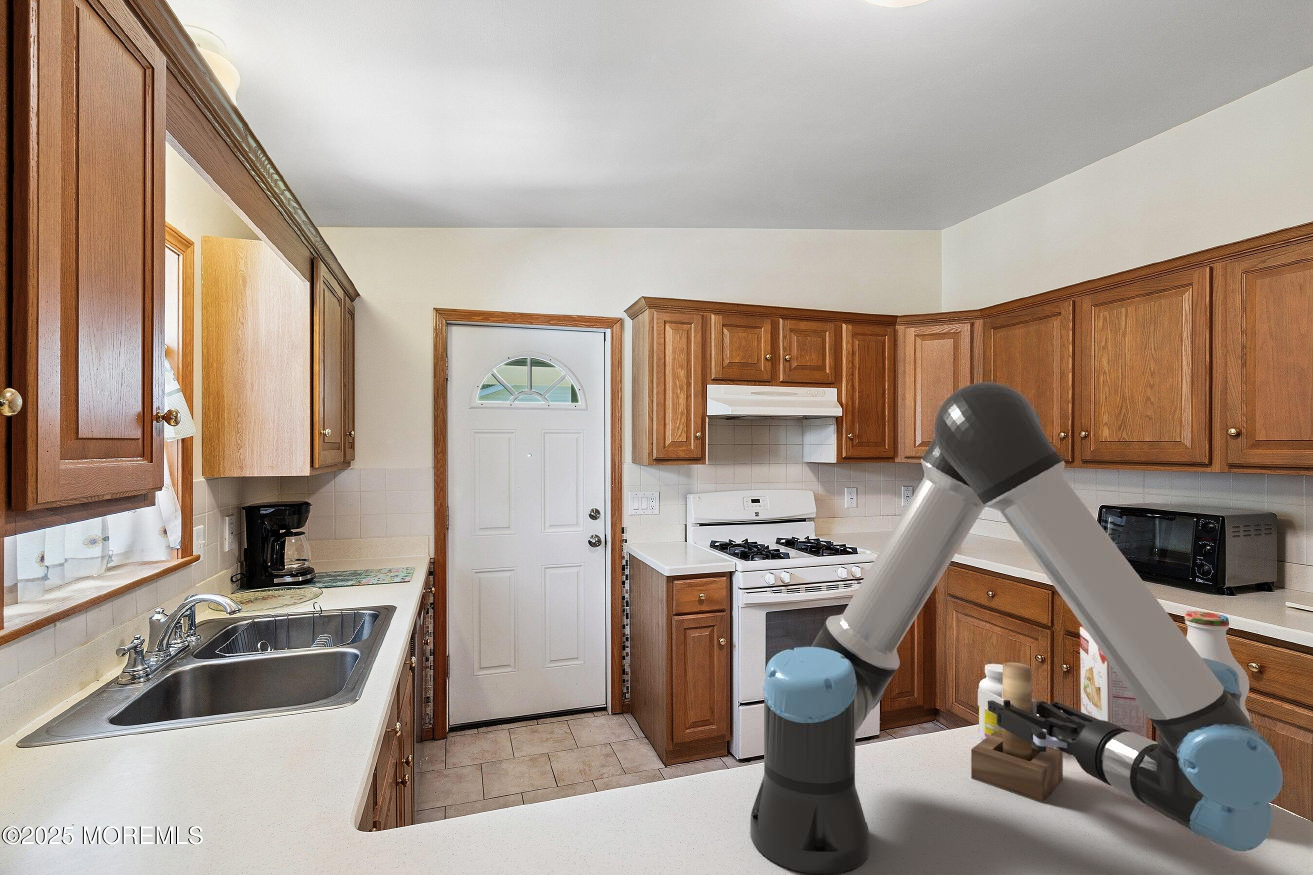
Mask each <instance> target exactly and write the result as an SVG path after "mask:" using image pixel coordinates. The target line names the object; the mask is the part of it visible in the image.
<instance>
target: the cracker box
mask: <svg viewBox="0 0 1313 875" xmlns="http://www.w3.org/2000/svg"><path fill="white" fill-rule="evenodd" d="M1079 647H1080V648H1079V649H1080V650H1079V653H1080V655H1079V657H1080V712H1082V713H1085V714H1087V715H1089V716H1092V717H1094V718H1097V719H1099V720H1104V721H1108V722H1110V723H1113V724H1115V725H1117V726H1119V727H1121V728H1124V729H1126V730H1128V731H1130V732H1134V733H1136V734H1139V735H1141V736H1143V737H1145V738H1148V739H1150V737H1149V736H1150V735H1149V734H1150V733H1149V732H1150V730H1149V729H1150V728H1149V727H1150V726H1149V725H1150V724H1149V720H1150V718H1149V717H1148V715H1147V714H1146V713H1145V711H1144V710H1143V709H1142V707H1141V706H1140V704H1139V703H1138V702H1137V700H1136V699H1135V697H1134V696H1133V695H1132V693H1131V692H1130V691H1129V689H1128V688H1127V686H1126V685H1125V684H1124V682H1123V681H1122V679H1121V678H1120V677H1119V675H1118V674H1117V673H1116V671H1115V670H1114V668H1113V667H1112V666H1111V664H1110V663H1109V661H1108V660H1107V659H1106V657H1105V656H1104V655H1103V653H1102V652H1101V650H1100V649H1099V648H1098V646H1097V645H1096V643H1095V642H1094V641H1093V639H1092V638H1091V637H1090V635H1089V634H1088V632H1087V631H1086V630H1085V628H1084V627H1083V626H1080V627H1079Z"/></svg>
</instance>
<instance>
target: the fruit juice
mask: <svg viewBox="0 0 1313 875" xmlns="http://www.w3.org/2000/svg"><path fill="white" fill-rule="evenodd" d="M1184 623H1185V625H1187V632H1186V633H1187V634H1186V636H1185V637H1186V638H1187V640H1188V641H1189V642H1190V644H1191V645H1192V646H1193V647H1194V649H1195V650H1196V651H1197V653H1198V654H1199V655H1200V657H1201V658H1206V659H1210V660H1214V661H1218V662H1221V663H1224V664H1226V665H1228V666H1230V667H1232V668H1233V669H1234V670H1235V671H1236V672H1237V673H1238V676H1239V686H1240V691H1241V692H1242V696H1241V697H1240V707H1241V710H1242V711H1243V712H1244V714H1245V715H1246V717H1247V718H1248V719H1249V721H1250V722H1251V716H1250V713H1249V711H1248V709H1247V707H1246V700H1247V697H1248V694H1249V692H1250V679H1249V676H1248V674H1247V672H1246V671H1245V669H1244V668H1243V666H1242V665H1240V663H1239V662H1238V661H1237V660H1236V658H1235V657H1234V655H1233V653H1232V651H1231V648H1230V646H1229V643H1228V638H1227V630H1229V626H1230V620H1229V618H1228V617H1227V616H1226V615H1223V614H1219V613H1215V612H1209V611H1198V610H1189V611H1186V612H1185V614H1184Z"/></svg>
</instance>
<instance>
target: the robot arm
mask: <svg viewBox="0 0 1313 875" xmlns="http://www.w3.org/2000/svg"><path fill="white" fill-rule="evenodd" d="M933 429H934V430H933V432H934V437H933V438H932V440H931V442H930V444H929V446H928V447H927V449H926V451H925V453H924V454H923V455H922V458H921V459H920V462H921V465H922V468H923V469H922V470H923V474H924V475H923V478H922V480H921V482H920V483H919V485H918V487H917V488H916V490H915V492H914V493H913V495H912V497H911V498H910V500H909V502H908V503H907V505H906V507H905V508H904V510H903V512H902V514H901V516H899V519H898V521H897V522H896V524H895V525H894V527H893V529H892V531H891V532H890V534H889V535H888V537H887V539H886V541H885V543H884V544H883V546H882V547H881V549H880V551H879V552H878V554H877V555H876V557H875V559H874V561H873V563H872V564H871V566H870V568H869V570H868V571H867V572H866V575H865V576H864V578H863V579H862V581H861V583H860V585H858V588H857V589H856V592H855V593H854V594H853V596H852V598H851V600H850V601H849V603H848V605H847V606H846V608H845V609H844V612H842V613H841V614H837V615H831V616H828V618H827V619H826V621H825V622H824V624H823V626H822V628H820V630H819V633H818V634H817V635H816V637H815V639H814V641H813V642H812V644H811V646H799V647H794V649H785V650H782V651H780V652H778V653H776V654H775V655H773V656H772V658H770V659H769V661H768V662H767V664H766V669H765V672H764V675H765V676H764V680H763V687H762V691H763V700H764V701H763V704H764V705H763V711H764V712H763V716H764V718H763V723H764V724H763V729H764V730H763V735H764V736H763V740H764V741H763V742H764V743H763V757H764V758H763V759H764V760H763V761H764V763H763V769H764V771H763V777H762V780H761V782H760V785H759V789H758V792H757V795H756V796H755V800H754V804H753V807H752V809H751V813H750V818H749V819H750V820H749V821H750V822H749V823H750V825H749V826H750V827H749V828H750V829H749V830H750V832H749V834H750V839H751V841H752V843H753V845H754V846H755V848H756V849H757V850H758V851H759V852H760V853H761V854H762V855H763V856H765V858H767V859H768V860H770V861H771V862H773V863H776V864H777V865H779V866H782V867H783V868H786V869H790V870H793V871H795V872H796V871H797V872H800V873H807V874H810V875H811V874H813V875H834V874H835V875H836V874H842V873H847V872H848V871H851V870H854V869H856V868H858V867H859V866H860V865H862V864H863V863H864V862H865V861H866V859H868V856H869V853H870V831H869V830H870V829H869V826H868V822H867V821H866V817H865V813H864V810H863V806H862V803H861V801H860V797H859V793H858V791H857V788H856V734H857V731H858V730H859V728H860V727H861V726H862V725H863V723H864V721H866V719H867V717H868V715H869V714H870V713H871V712H872V711H873V710H874V709H875V708H876V707H877V706H878V704H879V703H880V701H881V700H882V698H883V697H884V694H885V693H884V692H885V689H886V688H887V687H888V685H889V683H890V682H891V680H892V678H893V677H894V675H895V673H896V672H897V670H898V668H900V663H901V662H900V661H901V660H900V657H899V654H898V652H897V649H898V647H899V645H900V644H901V643H902V642H901V641H903V639H904V637H905V635H906V634H907V632H908V630H909V629H910V628H911V626H912V625H913V623H914V622H915V619H916V618H917V616H918V615H919V613H920V612H921V610H922V608H923V607H924V606H925V604H926V602H927V601H928V599H929V597H930V596H931V594H932V592H933V591H934V589H935V587H936V586H937V584H938V583H939V581H940V579H941V578H942V577H943V574H944V573H945V571H946V570H947V568H948V566H949V565H950V563H951V562H952V560H953V559H954V558H955V555H956V554H957V553H958V551H959V549H960V547H961V546H962V544H963V543H964V541H965V539H966V538H967V536H968V535H969V533H970V531H971V530H972V528H973V527H974V525H975V524H976V522H977V520H978V518H979V517H980V516H981V514H982V512H983V510H984V509H985V508H988V509H993V510H996V511H998V512H1000V513H1001V515H1002V517H1003V518H1004V519H1005V521H1006V522H1007V523H1008V524H1009V526H1010V528H1012V530H1013V532H1014V533H1015V535H1017V537H1018V538H1019V540H1020V541H1021V543H1023V545H1024V547H1025V548H1026V549H1027V551H1028V552H1029V553H1030V555H1031V556H1032V558H1033V559H1034V561H1035V562H1036V563H1037V564H1038V566H1039V567H1040V569H1041V570H1042V571H1043V573H1044V574H1045V575H1046V577H1047V579H1048V580H1049V581H1050V583H1051V584H1052V585H1053V587H1054V588H1055V590H1056V591H1057V592H1058V594H1059V595H1060V596H1061V598H1062V599H1063V601H1064V602H1065V604H1066V605H1067V606H1068V608H1069V609H1070V610H1071V612H1072V613H1073V614H1074V616H1075V617H1076V619H1077V620H1078V621H1079V623H1080V624H1081V626H1082V627H1084V628H1085V630H1086V631H1087V632H1088V634H1089V635H1090V637H1091V638H1092V639H1093V641H1094V642H1095V643H1096V645H1097V646H1098V648H1099V649H1100V650H1101V652H1102V653H1103V655H1104V656H1105V657H1106V659H1107V660H1108V661H1109V663H1110V664H1111V666H1112V667H1113V668H1114V670H1115V671H1116V673H1117V674H1118V675H1119V677H1120V678H1121V679H1122V681H1123V682H1124V684H1125V685H1126V686H1127V688H1128V689H1129V691H1130V692H1131V693H1132V695H1133V696H1134V697H1135V699H1136V700H1137V702H1138V703H1139V704H1140V706H1141V707H1142V709H1143V710H1144V711H1145V713H1146V714H1147V715H1148V717H1149V720H1150V722H1151V723H1152V725H1153V726H1154V728H1155V730H1156V731H1157V732H1158V741H1154V740H1152V739H1150V738H1149V739H1148V738H1145V737H1143V736H1141V735H1139V734H1136V733H1134V732H1130V731H1128V730H1126V729H1124V728H1121V727H1119V726H1117V725H1115V724H1113V723H1110V722H1108V721H1104V720H1099V719H1097V718H1094V717H1092V716H1089V715H1087V714H1085V713H1082V712H1081V710H1077V709H1075V708H1072V707H1071V706H1069V705H1065V704H1063V703H1061V702H1058V701H1052V702H1051V704H1050V703H1049V702H1047V701H1044V700H1040V701H1038V700H1037V699H1035V698H1033V697H1032V714H1031V713H1029V712H1026V711H1023V710H1021V709H1018V708H1016V707H1013V706H1012V703H1011V702H1010V700H1005V699H1003V686H1002V698H1001V697H999V696H997V695H995V694H992V693H990V692H988V691H986V690H984V689H982V688H980V689H979V688H978V689H977V706H978V707H979V706H980V707H982V708H984V709H986V710H988V711H990V712H992V713H994V714H995V715H997V725H998V726H1000V727H1002V728H1004V729H1005V730H1007V731H1009V732H1011V733H1012V734H1014V735H1016V736H1018V737H1019V738H1021V739H1023V740H1025V741H1026V742H1028V743H1030V744H1031V745H1032V746H1033V747H1034V748H1035V749H1036V750H1038V751H1040V752H1046V748H1047V747H1051V748H1056V749H1058V750H1060V751H1062V752H1063V753H1065V754H1068V755H1070V756H1073V757H1074V759H1075V761H1077V764H1078V765H1079V766H1080V768H1081V769H1082V770H1083V771H1084V772H1085V773H1086V774H1088V775H1090V776H1091V777H1093V778H1095V779H1097V780H1099V781H1100V782H1102V783H1104V784H1106V785H1108V786H1110V787H1113V788H1115V789H1116V790H1118V791H1120V792H1122V793H1123V794H1126V795H1128V796H1129V797H1131V798H1133V799H1135V800H1136V801H1138V803H1139V804H1141V805H1143V806H1147V807H1149V808H1151V809H1153V810H1154V811H1156V812H1158V813H1160V814H1162V815H1164V816H1165V817H1167V818H1169V819H1171V820H1172V821H1175V822H1177V823H1178V824H1180V825H1181V826H1183V827H1186V828H1188V829H1189V830H1191V831H1192V832H1193V833H1195V835H1197V836H1200V837H1202V838H1205V839H1207V840H1210V841H1212V842H1214V843H1215V844H1217V845H1220V846H1223V847H1226V848H1227V849H1229V850H1232V851H1235V852H1247V851H1251V850H1254V849H1257V848H1258V847H1259V846H1261V845H1262V844H1263V842H1264V841H1265V840H1266V839H1267V837H1268V835H1269V833H1270V831H1271V828H1272V824H1273V809H1272V806H1271V805H1270V803H1271V802H1272V801H1273V800H1275V799H1276V798H1277V796H1278V795H1279V794H1280V792H1281V790H1282V787H1283V781H1284V780H1283V779H1284V777H1283V771H1282V770H1283V769H1282V767H1281V764H1280V762H1279V760H1278V758H1277V757H1278V755H1277V754H1276V752H1275V751H1274V749H1273V748H1272V746H1271V745H1270V743H1268V741H1267V740H1266V739H1265V738H1264V737H1263V736H1262V735H1261V734H1260V732H1259V731H1258V730H1257V729H1256V727H1255V726H1254V724H1253V723H1252V722H1251V720H1250V721H1249V719H1248V718H1247V717H1246V715H1245V714H1244V712H1243V711H1242V710H1241V707H1240V697H1241V696H1242V692H1241V691H1240V686H1239V676H1238V673H1237V672H1236V671H1235V670H1234V669H1233V668H1232V667H1230V666H1228V665H1226V664H1224V663H1221V662H1218V661H1214V660H1210V659H1206V658H1201V657H1200V655H1199V654H1198V653H1197V651H1196V650H1195V649H1194V647H1193V646H1192V645H1191V644H1190V642H1189V641H1188V640H1187V638H1186V636H1185V634H1184V632H1182V630H1181V629H1180V628H1179V627H1178V625H1177V624H1176V622H1175V621H1174V619H1172V617H1171V616H1170V615H1169V614H1168V612H1167V611H1166V609H1165V608H1164V607H1163V605H1162V604H1161V603H1160V601H1158V599H1157V597H1156V596H1155V594H1153V592H1152V591H1151V590H1150V589H1149V587H1148V586H1147V584H1146V583H1145V582H1144V580H1142V578H1141V577H1140V576H1139V574H1138V572H1136V570H1135V569H1134V568H1133V566H1132V565H1131V563H1130V562H1129V561H1128V560H1127V559H1126V557H1125V555H1123V553H1122V552H1121V551H1120V549H1119V548H1118V546H1117V545H1116V544H1115V543H1114V541H1113V540H1112V539H1111V537H1110V536H1109V534H1108V533H1107V532H1106V530H1104V528H1103V526H1101V524H1100V523H1099V522H1098V520H1097V519H1096V518H1095V516H1094V515H1093V514H1092V512H1091V511H1090V509H1088V507H1087V506H1086V505H1085V503H1084V502H1083V501H1082V499H1081V498H1080V496H1078V494H1077V493H1076V491H1075V490H1074V489H1073V487H1072V485H1070V483H1069V482H1068V481H1067V480H1066V478H1065V477H1064V469H1065V465H1066V463H1065V460H1063V458H1062V457H1061V456H1060V454H1059V453H1058V452H1057V450H1056V449H1055V447H1054V446H1053V445H1052V443H1051V442H1050V441H1049V438H1048V437H1047V435H1046V433H1045V431H1044V429H1043V428H1042V423H1041V420H1040V417H1039V415H1038V413H1037V411H1036V409H1035V408H1034V407H1033V405H1032V404H1031V402H1029V400H1028V399H1027V398H1026V396H1024V395H1023V394H1022V393H1021V392H1019V391H1017V390H1016V389H1015V388H1013V387H1011V386H1008V385H1005V384H1001V383H997V382H990V381H987V382H986V381H984V382H976V383H971V384H969V385H966V386H963V387H961V388H959V389H957V390H955V391H954V392H952V393H951V395H949V396H948V397H946V399H945V401H943V402H942V404H941V406H940V407H939V409H938V411H937V413H936V417H935V421H934V428H933Z"/></svg>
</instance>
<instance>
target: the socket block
mask: <svg viewBox="0 0 1313 875" xmlns="http://www.w3.org/2000/svg"><path fill="white" fill-rule="evenodd" d="M970 749H971V750H970V751H971V752H970V753H971V754H970V758H971V759H970V760H971V762H970V766H971V767H970V769H971V770H970V772H971V774H970V778H971V779H973V780H976V781H978V782H981V783H984V784H987V785H989V786H993V787H995V788H999V789H1001V790H1004V791H1007V792H1010V793H1013V794H1015V795H1019V796H1021V797H1025V798H1026V799H1030V800H1033V801H1036V802H1039V803H1041V804H1043V803H1044V802H1045V800H1047V798H1048V797H1049V796H1050V795H1051V794H1052V793H1053V792H1054V791H1055V789H1056V788H1058V786H1059V785H1060V784H1061V783H1062V782H1063V780H1064V779H1063V778H1064V769H1063V768H1064V767H1063V766H1064V765H1063V764H1064V752H1062V751H1060V750H1059V749H1058V748H1055V747H1050V746H1047V748H1046V752H1040V751H1038V750H1036V749H1035V748H1034V747H1033V746H1032V761H1027V760H1024V759H1020V758H1017V757H1014V756H1011V755H1008V754H1004V753H1003V733H999V732H996V731H995V732H993V733H992V734H991V735H989V736H988V737H987V738H985V739H984V740H983V739H982V740H981V741H980V742H979V743H977V744H976V745H975V746H973V747H972V748H970Z"/></svg>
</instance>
